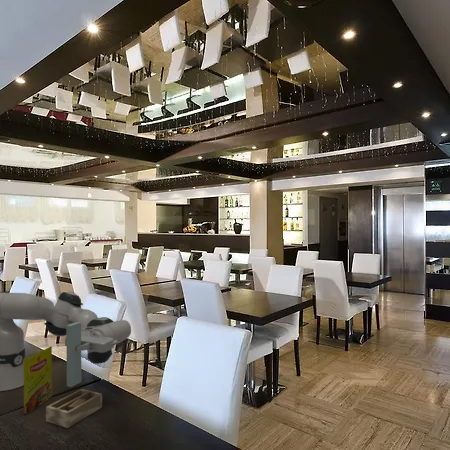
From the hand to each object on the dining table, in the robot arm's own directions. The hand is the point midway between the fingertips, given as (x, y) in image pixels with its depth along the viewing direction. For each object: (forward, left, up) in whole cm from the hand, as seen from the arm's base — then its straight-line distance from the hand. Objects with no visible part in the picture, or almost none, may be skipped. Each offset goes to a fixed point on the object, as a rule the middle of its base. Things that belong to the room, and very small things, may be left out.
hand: (73, 348), depth 138 cm
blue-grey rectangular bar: (0, 0, -13) cm, 13 cm away
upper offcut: (+5, -2, -20) cm, 21 cm away
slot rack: (+3, -2, -23) cm, 23 cm away
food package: (-15, -3, -23) cm, 28 cm away
